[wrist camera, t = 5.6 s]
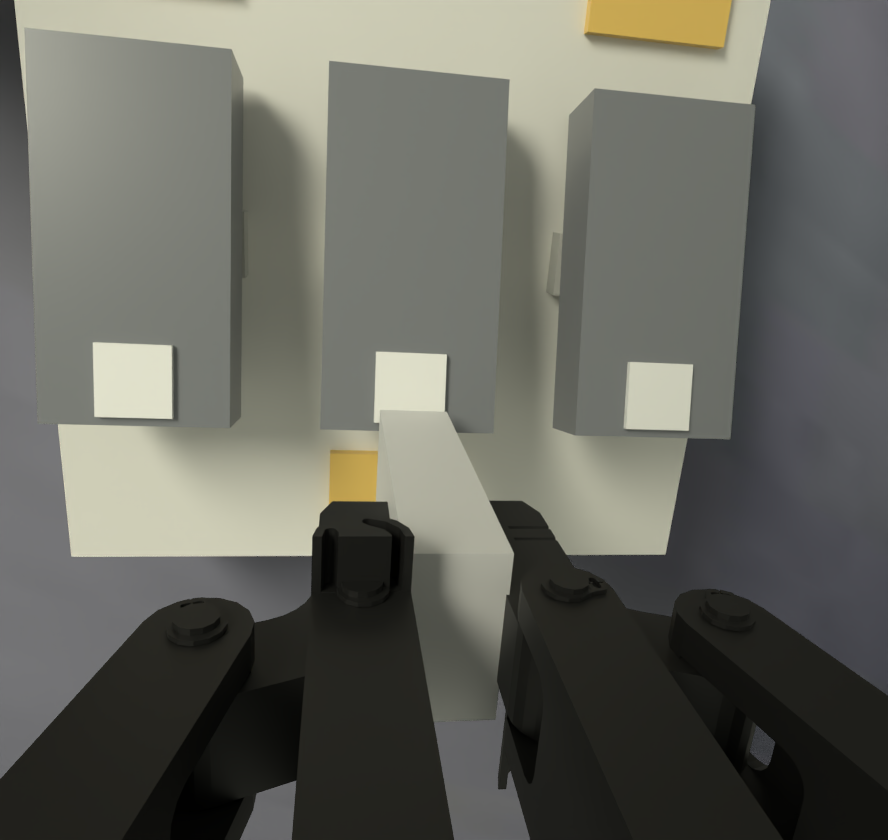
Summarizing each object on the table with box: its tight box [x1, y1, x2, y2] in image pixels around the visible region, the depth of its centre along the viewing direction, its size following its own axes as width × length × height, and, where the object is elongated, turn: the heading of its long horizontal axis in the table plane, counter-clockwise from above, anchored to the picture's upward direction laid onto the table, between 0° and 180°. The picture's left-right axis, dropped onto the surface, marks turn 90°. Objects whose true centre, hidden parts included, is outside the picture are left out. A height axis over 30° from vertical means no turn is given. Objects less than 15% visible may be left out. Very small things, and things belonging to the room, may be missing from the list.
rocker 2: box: [320, 61, 510, 434], centre depth 16 cm, size 8×4×2 cm, turn 176°
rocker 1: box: [24, 28, 243, 428], centre depth 15 cm, size 8×4×2 cm, turn 176°
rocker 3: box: [552, 88, 755, 439], centre depth 17 cm, size 8×4×2 cm, turn 176°
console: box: [14, 0, 771, 557], centre depth 21 cm, size 18×18×7 cm
